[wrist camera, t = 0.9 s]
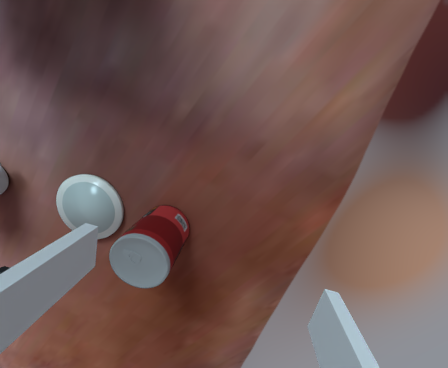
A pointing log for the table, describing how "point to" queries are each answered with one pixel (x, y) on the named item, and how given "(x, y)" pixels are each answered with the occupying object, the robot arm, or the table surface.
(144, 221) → the canned food
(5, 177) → the cup
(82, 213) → the plate
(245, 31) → the table surface
